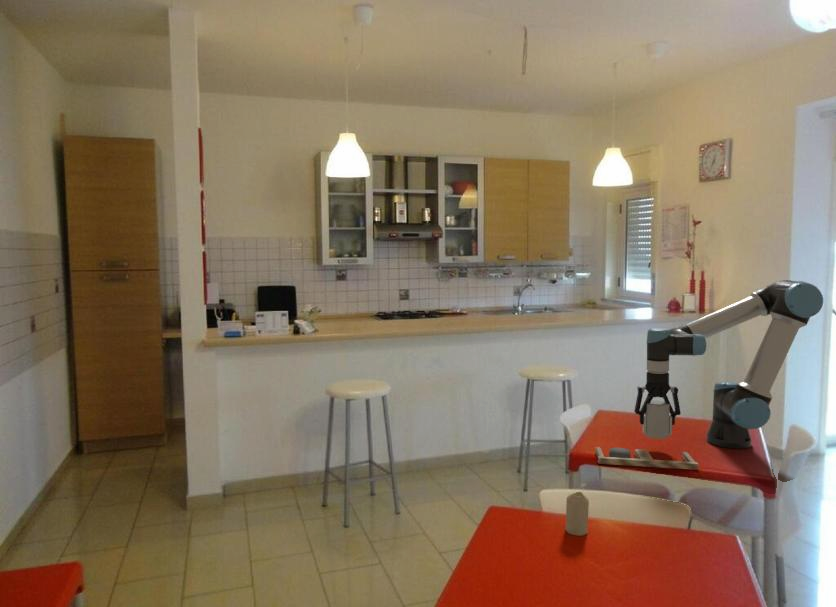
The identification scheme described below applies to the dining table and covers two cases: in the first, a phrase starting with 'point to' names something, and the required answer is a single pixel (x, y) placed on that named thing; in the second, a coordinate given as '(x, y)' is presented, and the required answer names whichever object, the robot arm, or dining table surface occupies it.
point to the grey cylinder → (657, 420)
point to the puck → (619, 453)
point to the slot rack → (647, 460)
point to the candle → (577, 514)
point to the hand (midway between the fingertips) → (656, 433)
